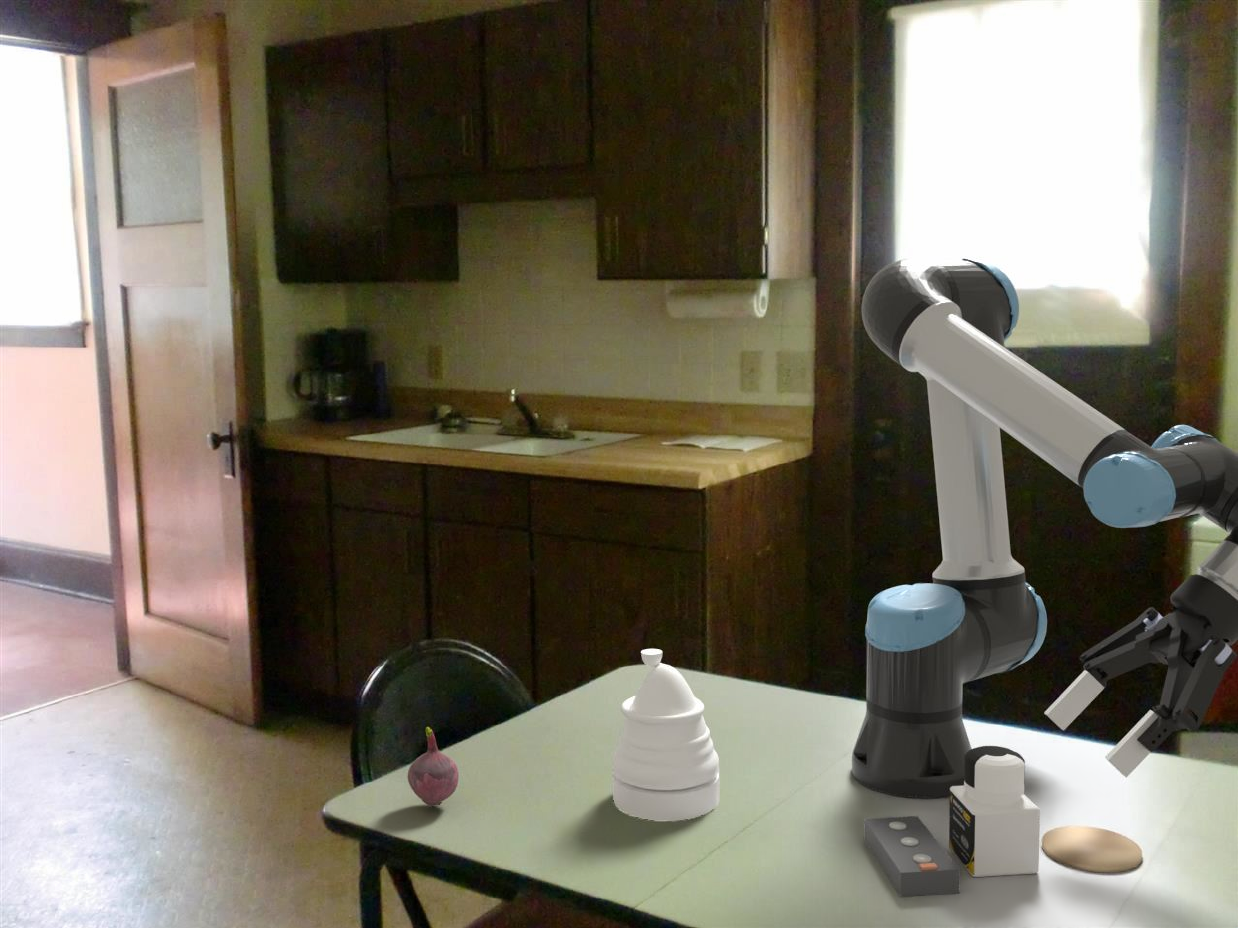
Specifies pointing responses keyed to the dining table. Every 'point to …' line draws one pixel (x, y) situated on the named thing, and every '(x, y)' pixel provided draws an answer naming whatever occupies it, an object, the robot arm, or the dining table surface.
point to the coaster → (1091, 849)
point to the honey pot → (665, 750)
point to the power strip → (911, 856)
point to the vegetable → (433, 774)
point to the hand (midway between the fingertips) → (1082, 743)
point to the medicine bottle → (994, 815)
